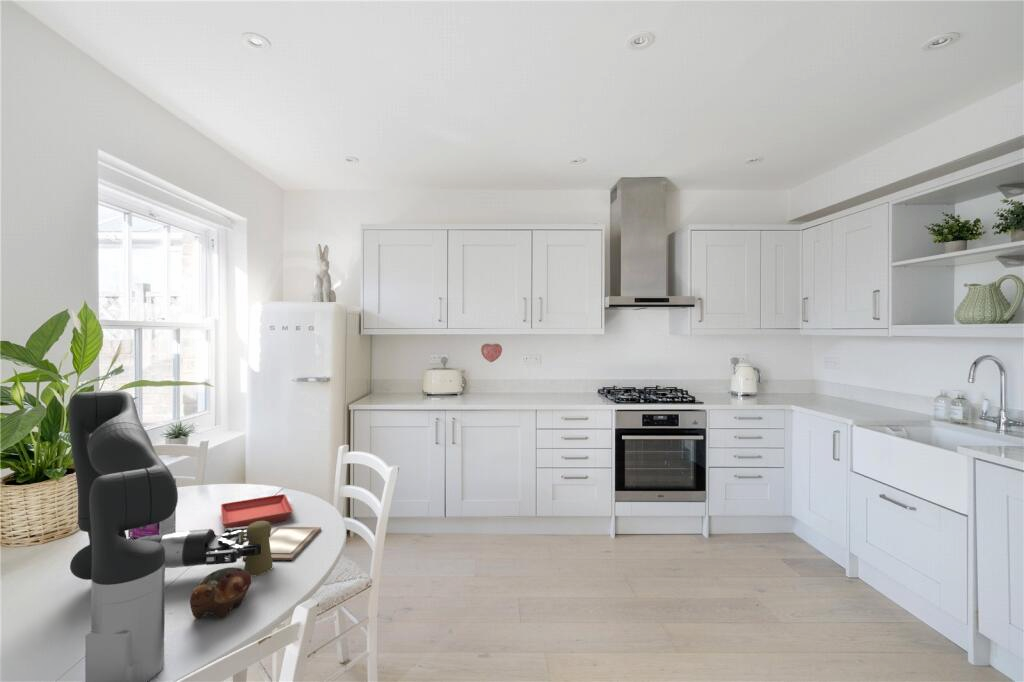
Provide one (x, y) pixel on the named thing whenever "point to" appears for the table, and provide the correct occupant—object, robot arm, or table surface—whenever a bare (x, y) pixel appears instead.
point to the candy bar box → (155, 527)
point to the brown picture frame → (289, 541)
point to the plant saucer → (255, 511)
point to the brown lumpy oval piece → (220, 592)
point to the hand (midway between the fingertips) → (265, 540)
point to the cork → (260, 535)
